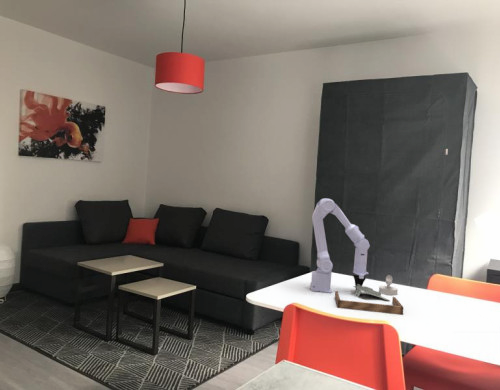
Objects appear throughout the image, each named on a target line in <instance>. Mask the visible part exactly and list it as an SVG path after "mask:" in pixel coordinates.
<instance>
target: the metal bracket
mask: <svg viewBox="0 0 500 390" xmlns="http://www.w3.org/2000/svg"><path fill="white" fill-rule="evenodd" d="M358 285H359V286H358ZM353 287H354V288H355V293H354V297H356V298H358V299H359V298H360V295H361V292H363V293H366V294H368V295H371V296H375V297H377V298H380V299H383V300H385V301H387V302H390V299H388V298H386V297H383V296H382V293H380V292H379V291H377V290H374V289H373V288H371V287H368V286H365V285H362V286H361V285H360V284H357V286H356V287H355V285H353ZM356 288H357V290H356Z"/></svg>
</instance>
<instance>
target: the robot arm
mask: <svg viewBox="0 0 500 390" xmlns="http://www.w3.org/2000/svg"><path fill="white" fill-rule="evenodd" d="M329 213H330V214H332V215H334V216H335V217H336V218H337V219H338V220H339V222H340V223H341V225H343V226H344V228H345V229H344V231H345V234H346V235H347V236H348V237H349V239H350V240H351V241H352V243H353V246H354V247H355V248H354V249H355V251H354V252H355V253H354V261H353V262H354V263H353V270H352V273H353V274H352V276H353V277H352V278H353V279H354V286H355V287H356V286H357V284H360V285H361V286H364V285H363V284H364V282H365V281H366V279H367V278H366V275H369V272H368V271H367V263H368V262H367V260H368V250H369V248H370V247H371V244H370V243H369V242H370V241H369V240H368V239H366V238H365V234H363V233H362V231H361V230H360V227H359V226H358V225H356V224H353V223H351V222H350V220H349V219H348V218H347V216H346V215H345V213H344V212H343V211H342V209H341V208H340V207H339V205H338V204H337V203H335V201H334V200H333V199H331V198H327V197H325V198H321V199H320V200H319V201H318V202H317V203H316V206H315V208H314V211H313V213H312V216H311V218H312V226H313V230H314V231H313V232H314V238H315V245H316V250H317V255H316V257H317V259H316V266H317V269H316V270H312V271H311V281H310V285H309V286H310V290H311V291H312V292H320V293H329V294H330V293H332V289H331V284H332V270H333V265H334V264H333V262H332V261H331V259H330V258H331V257H330V254H329V252H328V244H327V240H326V232H325V225H324V219H325V218H326V216H327V215H328V214H329ZM358 286H359V285H358ZM355 287H354V288H355ZM356 290H357V288H355V291H356Z"/></svg>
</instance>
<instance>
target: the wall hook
mask: <svg viewBox="0 0 500 390" xmlns="http://www.w3.org/2000/svg"><path fill="white" fill-rule="evenodd" d="M392 283H393V277H392V275H389V274H388V275H386V277H385V284H386V285H379V287H378V292H380V293H381V295H387V296H397V295H398V291H399V289H398V288H397V287H394V286H391V285H392Z"/></svg>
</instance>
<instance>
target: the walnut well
mask: <svg viewBox="0 0 500 390" xmlns="http://www.w3.org/2000/svg"><path fill="white" fill-rule="evenodd" d="M334 299H335V303H336V307H337V308H340V309H348V310H355V311H356V310H358V311H365V312H366V311H367V312H377V313H383V314H384V313H385V314H393V315H394V314H396V315H404V306H403V304H402V303H401V302H400V301H399V300H398V299H397V298H396V297H395V296H392V301H391V304H385V303H384V304H383V303H372V302H363V301H353V300H343V299H341V296H340V295H339V292H338V290H337V291H336V290H335V293H334Z"/></svg>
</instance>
